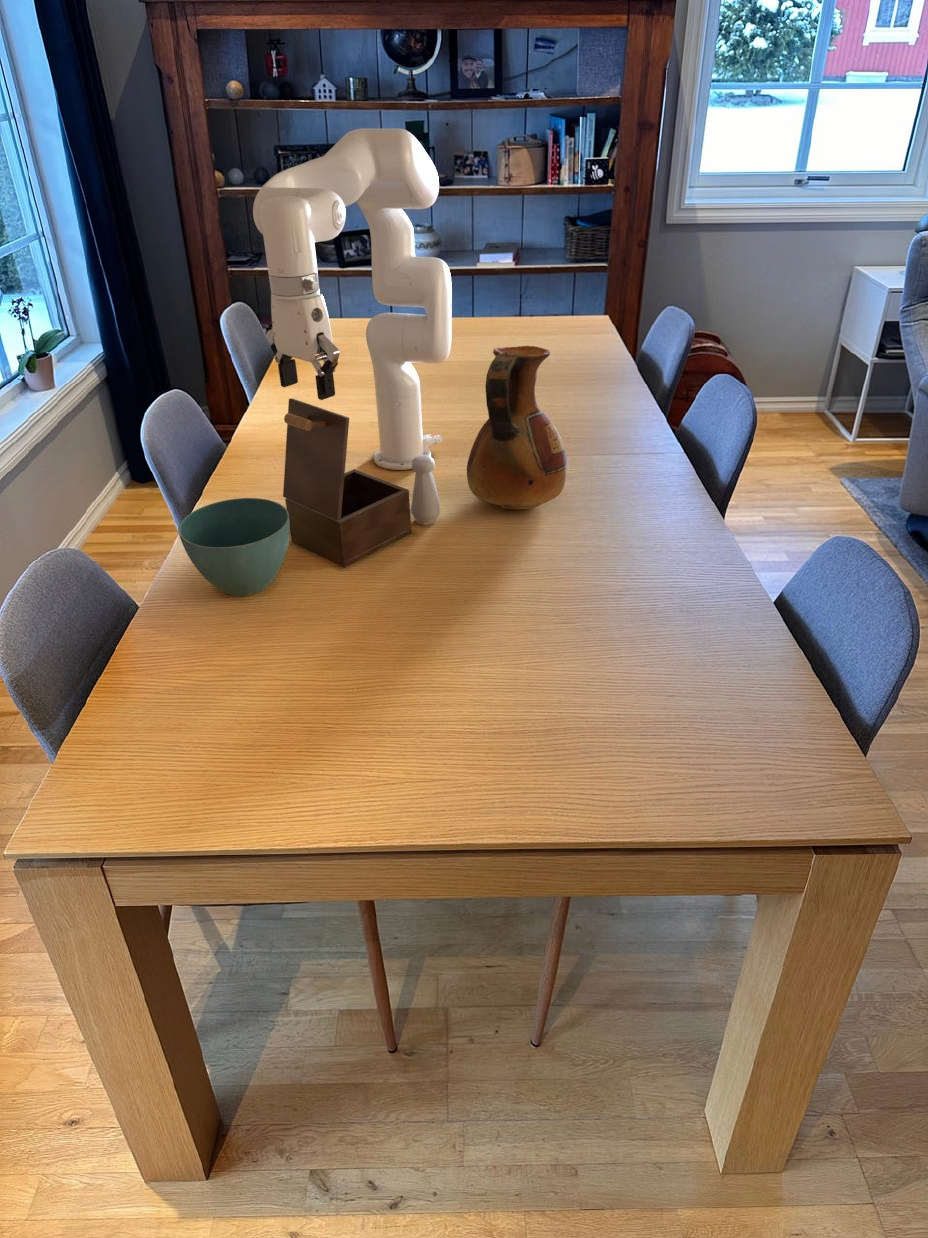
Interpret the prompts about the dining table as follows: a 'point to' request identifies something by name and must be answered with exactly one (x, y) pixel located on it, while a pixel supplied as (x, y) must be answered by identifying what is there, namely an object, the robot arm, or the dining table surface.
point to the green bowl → (237, 543)
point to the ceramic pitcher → (516, 437)
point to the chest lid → (315, 458)
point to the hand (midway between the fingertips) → (307, 391)
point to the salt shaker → (424, 492)
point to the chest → (354, 520)
